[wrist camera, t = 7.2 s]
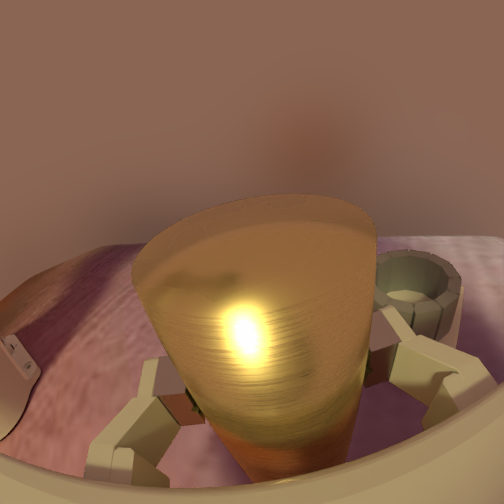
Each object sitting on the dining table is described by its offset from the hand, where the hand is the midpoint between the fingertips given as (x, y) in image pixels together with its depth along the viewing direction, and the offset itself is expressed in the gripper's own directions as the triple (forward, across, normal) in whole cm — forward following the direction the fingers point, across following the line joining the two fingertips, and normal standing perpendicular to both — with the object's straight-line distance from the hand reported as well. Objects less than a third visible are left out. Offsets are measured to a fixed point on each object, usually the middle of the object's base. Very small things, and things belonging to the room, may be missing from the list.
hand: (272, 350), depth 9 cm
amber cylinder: (-1, 0, +8) cm, 8 cm away
